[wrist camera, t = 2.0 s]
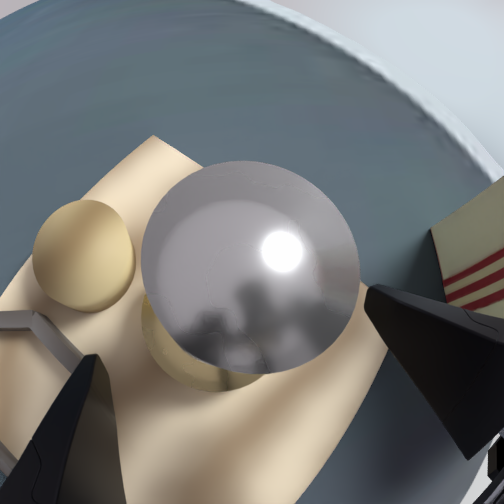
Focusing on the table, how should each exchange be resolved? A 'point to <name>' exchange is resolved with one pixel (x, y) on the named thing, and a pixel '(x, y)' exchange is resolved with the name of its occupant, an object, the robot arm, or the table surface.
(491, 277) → the gift box
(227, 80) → the table surface
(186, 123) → the table surface
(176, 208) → the silver round piece
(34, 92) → the table surface
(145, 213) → the board
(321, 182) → the table surface
